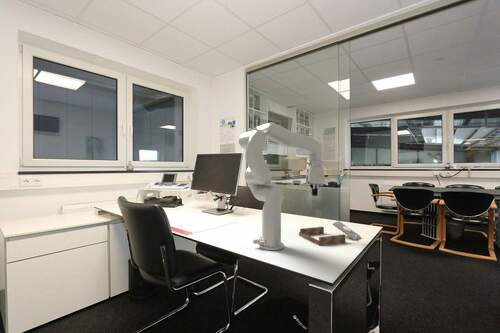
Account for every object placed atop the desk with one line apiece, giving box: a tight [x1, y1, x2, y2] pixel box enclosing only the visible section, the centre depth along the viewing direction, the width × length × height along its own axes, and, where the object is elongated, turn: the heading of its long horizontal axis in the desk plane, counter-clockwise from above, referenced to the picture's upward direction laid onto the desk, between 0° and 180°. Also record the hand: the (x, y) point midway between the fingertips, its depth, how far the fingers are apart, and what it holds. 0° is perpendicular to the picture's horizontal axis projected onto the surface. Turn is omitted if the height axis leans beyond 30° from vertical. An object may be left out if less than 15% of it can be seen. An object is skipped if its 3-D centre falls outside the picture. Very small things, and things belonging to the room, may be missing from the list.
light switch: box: [332, 220, 361, 241], centre depth 134 cm, size 8×6×14 cm
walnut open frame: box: [298, 226, 346, 246], centre depth 130 cm, size 17×19×4 cm
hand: (314, 195), depth 133 cm, fingers closed
